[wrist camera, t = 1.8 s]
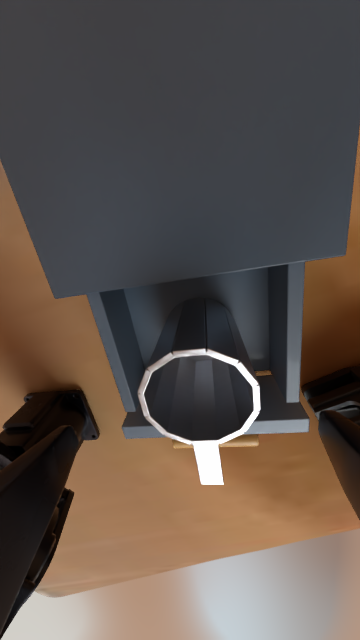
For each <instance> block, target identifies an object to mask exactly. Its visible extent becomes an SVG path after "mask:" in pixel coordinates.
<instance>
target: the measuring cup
mask: <svg viewBox="0 0 360 640" xmlns="http://www.w3.org/2000/svg"><path fill="white" fill-rule="evenodd" d="M138 398H139V401H140V405H141V408H142V411H143V415H144V416H145V418H146V419H147V420H148V421H149V422H150V423H151V424H152V425H153V426H154V427H155V428H156V429H157V430H158V431H159V432H160V433H162V434H163V435H164V434H165V436H166V437H169V438H172V439H175V440H177V441H180V442H183V443H186V444H189V445H190V444H192V445H193V447H194V452H195V457H196V462H197V467H198V472H199V477H200V482H201V484H202V485H205V484H224V481H223V473H222V466H221V459H220V452H219V445H218V444H219V443H220V444H222V443H224V442H226V441H228V440H230V439H233V438H235V437H237V436H239V435H241V434H243V433H244V431H245V432H246V431H247V430H248V428H249V427H250V425H251V424H252V423H253V421H254V420H255V418H256V417H257V416H258V414H259V413H260V410H261V407H260V385H259V383H258V380H257V377H256V375H255V372H254V369H253V367H252V364H251V362H250V359H249V356H248V354H247V351H246V348H245V346H244V343H243V340H242V338H241V335H240V332H239V330H238V327H237V324H236V322H235V320H234V318H233V317H232V315H231V314H230V312H229V311H228V310H227V309H226V308H225V307H224V306H223V305H222V304H220V303H218V302H216V301H214V300H211V299H207V298H193V299H189V300H186V301H184V302H182V303H180V304H179V305H177V306H176V307H175V308H174V309H173V310H172V311H171V312H170V313H169V315H168V317H167V320H166V322H165V325H164V327H163V329H162V332H161V334H160V337H159V339H158V341H157V344H156V346H155V349H154V351H153V353H152V356H151V358H150V361H149V363H148V365H147V368H146V370H145V373H144V376H143V378H142V381H141V384H140V386H139V389H138Z"/></svg>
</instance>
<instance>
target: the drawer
mask: <svg viewBox="0 0 360 640" xmlns="http://www.w3.org/2000/svg"><path fill="white" fill-rule="evenodd" d="M304 272H305V262H299V263H292V264H286V265H279V266H272V267H266V268H259V269H252V270H245V271H239V272H232V273H225V274H219V275H212V276H205V277H199V278H192V279H185V280H178V281H172V282H165V283H158V284H152V285H145V286H138V287H132V288H125V289H118V290H111V291H105V292H98V293H91V294H87V297H88V300H89V303H90V306H91V309H92V312H93V315H94V318H95V321H96V324H97V327H98V330H99V333H100V336H101V339H102V342H103V345H104V348H105V351H106V354H107V357H108V360H109V363H110V366H111V369H112V372H113V375H114V378H115V381H116V384H117V387H118V390H119V393H120V396H121V399H122V402H123V405H124V408H125V411H126V412H128V413H127V415H126V418H125V420H124V423H123V425H122V430H123V433H124V435H125V438H126V439H133V438H160V437H166V436H165V434H164V435H163V434H162V433H160V432H159V431H158V430H157V429H156V428H155V427H154V426H153V425H152V424H151V423H150V422H149V421H148V420H147V419H146V418H145V416H144V415H143V411H142V408H141V405H140V401H139V398H138V389H139V386H140V384H141V381H142V378H143V376H144V373H145V370H146V368H147V365H148V363H149V361H150V358H151V356H152V353H153V351H154V349H155V346H156V344H157V341H158V339H159V337H160V334H161V332H162V329H163V327H164V325H165V322H166V320H167V317H168V315H169V313H170V312H171V311H172V310H173V309H174V308H175V307H176V306H177V305H179V304H180V303H182V302H184V301H186V300H189V299H193V298H207V299H211V300H214V301H216V302H218V303H220V304H222V305H223V306H224V307H225V308H226V309H227V310H228V311H229V312H230V314H231V315H232V317H233V318H234V320H235V322H236V324H237V327H238V330H239V332H240V335H241V338H242V340H243V343H244V346H245V348H246V351H247V354H248V356H249V359H250V362H251V364H252V367H253V369H254V371H262V370H270V371H271V373H272V375H264V376H256V377H257V380H258V383H259V385H260V407H261V410H260V413H259V414H258V416H257V417H256V418H255V420H254V421H253V423H252V424H251V425H250V427H249V428H248V430H247V431H246V432H245V431H244V433H243V434H241V435H239V436H237V437H235V438H233V439H230V440H228V441H226V442H224V443H222V444H220V443H219V444H218V445H219V447H240V446H259V439H258V434H269V433H296V432H309V417H308V415H307V413H306V412H305V410H304V408H303V407H302V405H301V403H300V401H299V392H300V368H301V344H302V320H303V296H304ZM172 441H173V447H174V448H194V447H193V445H192V444H190V445H189V444H186V443H183V442H180V441H177V440H175V439H172Z"/></svg>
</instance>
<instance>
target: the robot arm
mask: <svg viewBox="0 0 360 640" xmlns="http://www.w3.org/2000/svg"><path fill="white" fill-rule="evenodd" d="M24 401H25V402H26V403H25V404H24V405H23V406H22V407H21V408H20V409H19V410H18V411H17V412H16V413H15V414H14V415H13V416H12V417H11V418H10V419H9V420H8V421H7V422H6V423H5V424H4V425H3V429H4V430H3V431H2V432H1V433H0V639H1V638H2V636H3V634H4V633H5V631H6V629H7V628H8V626H9V625H10V623H11V622H12V620H13V618H14V617H15V615H16V614H17V612H18V610H19V609H20V608H21V606H22V605H23V604H24V603H25V602H26V601H27V599H28V598H29V597H30V596H31V594H32V593H33V592H34V590H35V589H36V587H37V586H38V584H39V583H40V581H41V579H42V578H43V576H44V574H45V572H46V571H47V569H48V567H49V565H50V563H51V560H52V558H53V556H54V553H55V551H56V548H57V545H58V542H59V539H60V536H61V533H62V530H63V527H64V523H65V520H66V517H67V514H68V511H69V508H70V505H71V502H72V499H73V496H74V492H73V491H71V490H70V489H69V490H68V489H66V488H65V484H66V481H67V479H68V476H69V473H70V470H71V467H72V464H73V461H74V458H75V456H76V453H77V451H78V450H79V448H80V446H81V444H82V443H83V441H84V440H96V439H98V437H99V435H100V434H99V431H98V429H97V426H96V424H95V421H94V419H93V416H92V414H91V412H90V409H89V407H88V404H87V402H86V399H85V397H84V394H83V393H82V391H80V390H69V391H54V392H41V393H30V394H27V395H26V396H25V397H24ZM318 430H319V435H320V437H321V440H322V442H323V444H324V447H325V449H326V451H327V454H328V456H329V458H330V461H331V463H332V465H333V467H334V470H335V472H336V474H337V477H338V479H339V481H340V483H341V486H342V488H343V490H344V492H345V494H346V496H347V498H348V500H349V501H350V503H351V505H352V507H353V509H354V511H355V512H356V514H357V516H358V518H359V520H360V426H359V425H357V424H355V423H354V422H352V421H351V420H349V419H348V418H346V417H345V416H343V415H342V414H340V413H339V412H337V411H335V410H322V411H321V412H320V414H319V428H318Z"/></svg>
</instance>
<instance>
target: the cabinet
mask: <svg viewBox="0 0 360 640" xmlns="http://www.w3.org/2000/svg"><path fill="white" fill-rule="evenodd" d="M359 126H360V0H0V160H1V162H2V165H3V168H4V170H5V173H6V175H7V178H8V180H9V183H10V185H11V188H12V191H13V193H14V196H15V198H16V201H17V203H18V206H19V208H20V211H21V214H22V216H23V219H24V221H25V224H26V226H27V229H28V231H29V234H30V237H31V239H32V242H33V244H34V247H35V249H36V252H37V255H38V257H39V260H40V262H41V265H42V267H43V270H44V272H45V275H46V278H47V280H48V283H49V285H50V288H51V290H52V293H53V295H54V298H55V299H58V298H65V297H71V296H78V295H85V294H91V293H98V292H105V291H111V290H118V289H125V288H132V287H138V286H145V285H152V284H158V283H165V282H172V281H178V280H185V279H192V278H199V277H205V276H212V275H219V274H225V273H232V272H239V271H245V270H252V269H259V268H266V267H272V266H279V265H286V264H292V263H299V262H306V261H312V260H319V259H326V258H333V257H339V256H344V255H346V248H347V239H348V229H349V220H350V210H351V201H352V192H353V182H354V173H355V164H356V154H357V145H358V136H359Z"/></svg>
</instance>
